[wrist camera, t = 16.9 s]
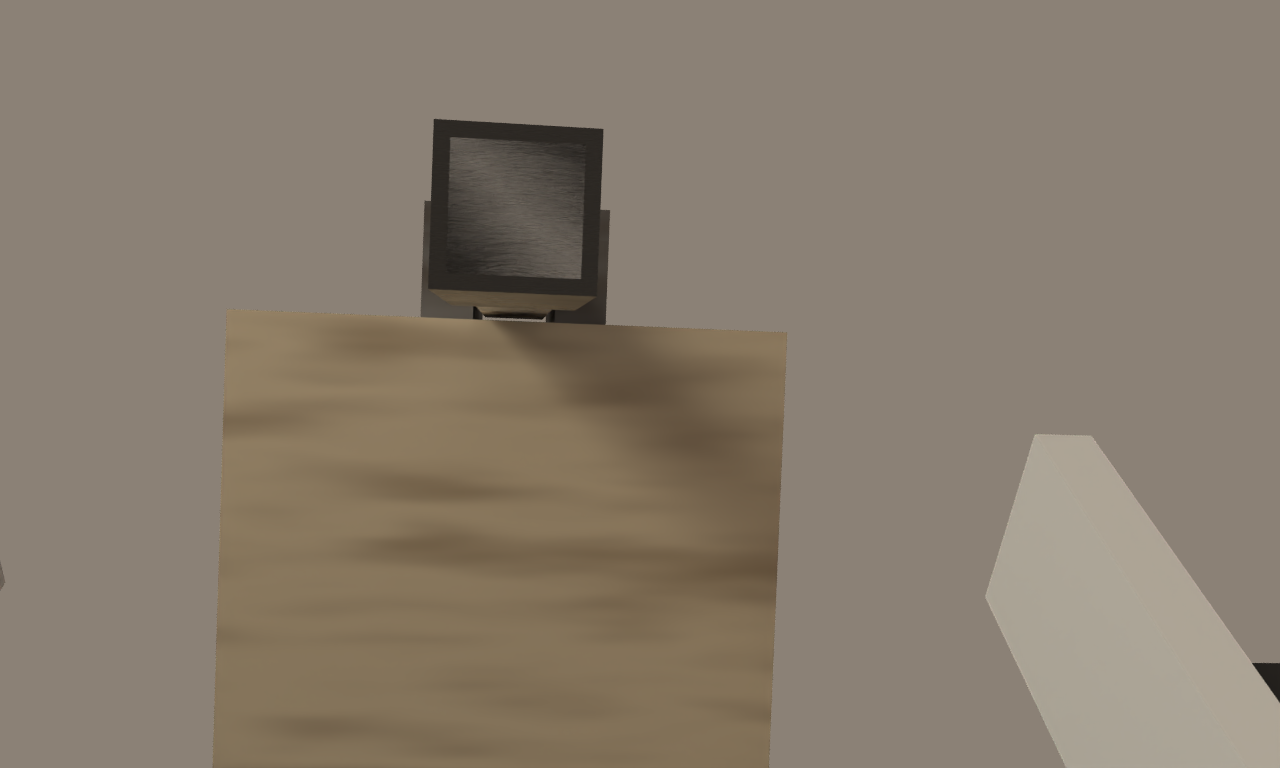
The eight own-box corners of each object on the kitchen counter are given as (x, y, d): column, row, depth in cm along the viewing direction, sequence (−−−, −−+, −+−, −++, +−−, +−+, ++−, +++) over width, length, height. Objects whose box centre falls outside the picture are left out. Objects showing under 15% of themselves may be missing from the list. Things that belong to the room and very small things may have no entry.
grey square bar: (597, 296, 22) (603, 128, 22) (428, 289, 21) (433, 119, 21) (549, 326, 52) (551, 256, 52) (478, 323, 51) (480, 252, 51)
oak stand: (749, 1214, 45) (792, 207, 44) (198, 1234, 43) (230, 177, 42) (678, 950, 65) (706, 250, 64) (297, 955, 63) (321, 232, 62)
